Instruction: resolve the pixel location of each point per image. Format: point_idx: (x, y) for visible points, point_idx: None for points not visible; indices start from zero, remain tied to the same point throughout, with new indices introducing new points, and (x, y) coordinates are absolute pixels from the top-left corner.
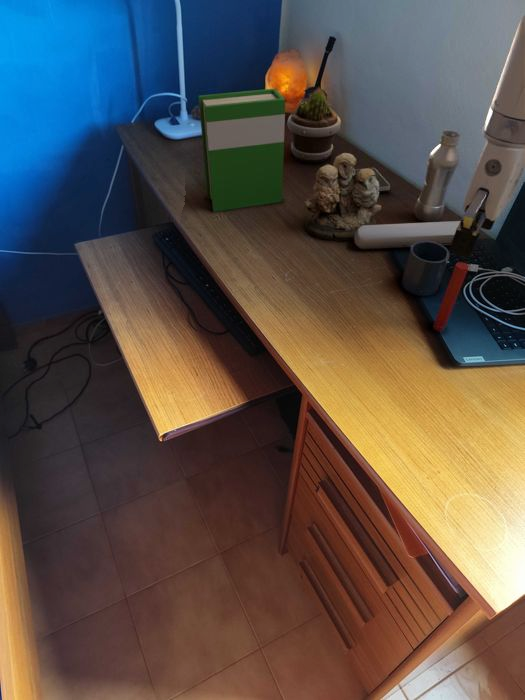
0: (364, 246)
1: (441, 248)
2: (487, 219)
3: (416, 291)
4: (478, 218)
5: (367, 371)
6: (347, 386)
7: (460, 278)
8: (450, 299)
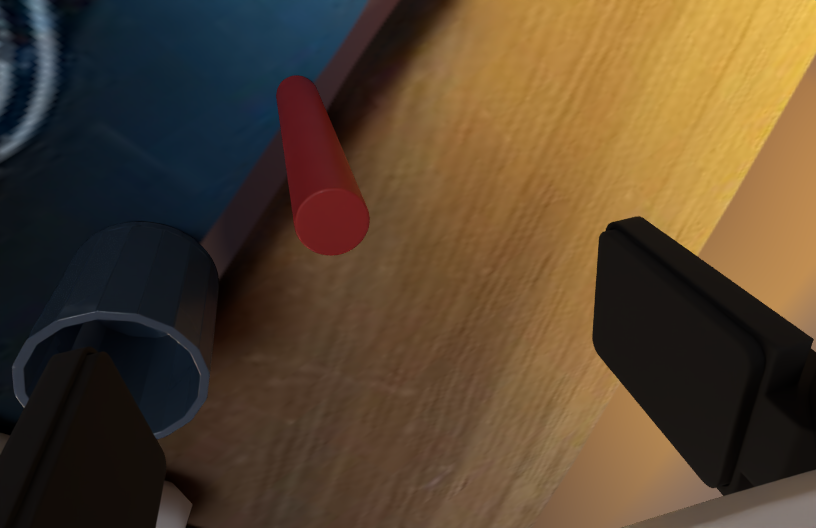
0: (176, 490)
1: (28, 374)
2: (99, 456)
3: (210, 264)
4: (141, 494)
5: (617, 135)
6: (689, 137)
7: (348, 172)
8: (335, 133)
